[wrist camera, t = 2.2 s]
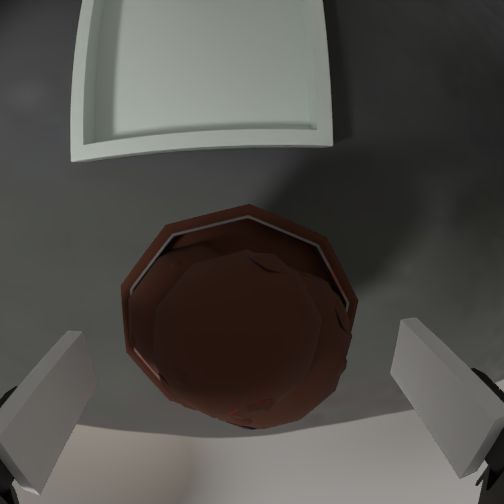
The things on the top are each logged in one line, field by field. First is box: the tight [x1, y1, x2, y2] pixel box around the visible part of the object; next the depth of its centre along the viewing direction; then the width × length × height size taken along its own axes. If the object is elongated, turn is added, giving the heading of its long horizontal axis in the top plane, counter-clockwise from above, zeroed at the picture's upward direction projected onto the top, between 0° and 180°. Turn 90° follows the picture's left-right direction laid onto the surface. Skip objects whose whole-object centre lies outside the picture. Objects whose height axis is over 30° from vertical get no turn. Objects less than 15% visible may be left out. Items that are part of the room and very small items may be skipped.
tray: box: [71, 0, 333, 162], centre depth 17 cm, size 17×17×2 cm
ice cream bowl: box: [121, 204, 358, 430], centre depth 16 cm, size 11×11×15 cm
